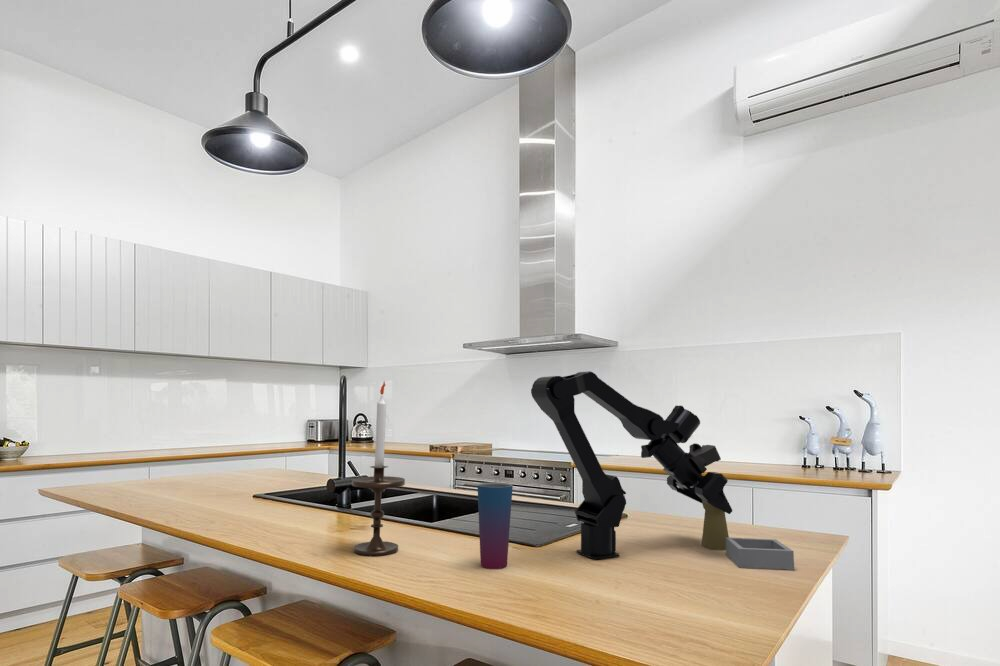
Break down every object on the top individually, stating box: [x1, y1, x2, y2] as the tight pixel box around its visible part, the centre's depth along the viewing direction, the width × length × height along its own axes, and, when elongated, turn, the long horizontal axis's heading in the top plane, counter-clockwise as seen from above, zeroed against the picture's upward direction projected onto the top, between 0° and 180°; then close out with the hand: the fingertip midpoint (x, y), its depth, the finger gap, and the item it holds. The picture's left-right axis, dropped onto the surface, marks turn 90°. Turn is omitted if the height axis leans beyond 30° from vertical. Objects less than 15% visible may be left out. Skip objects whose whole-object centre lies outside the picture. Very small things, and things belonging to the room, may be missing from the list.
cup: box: [477, 481, 514, 570], centre depth 114 cm, size 7×7×15 cm
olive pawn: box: [700, 501, 729, 551], centre depth 132 cm, size 6×6×11 cm
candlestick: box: [351, 380, 406, 557], centre depth 125 cm, size 11×11×35 cm
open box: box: [725, 537, 795, 571], centre depth 119 cm, size 10×10×4 cm
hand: (720, 508), depth 132 cm, fingers open, 8 cm apart
